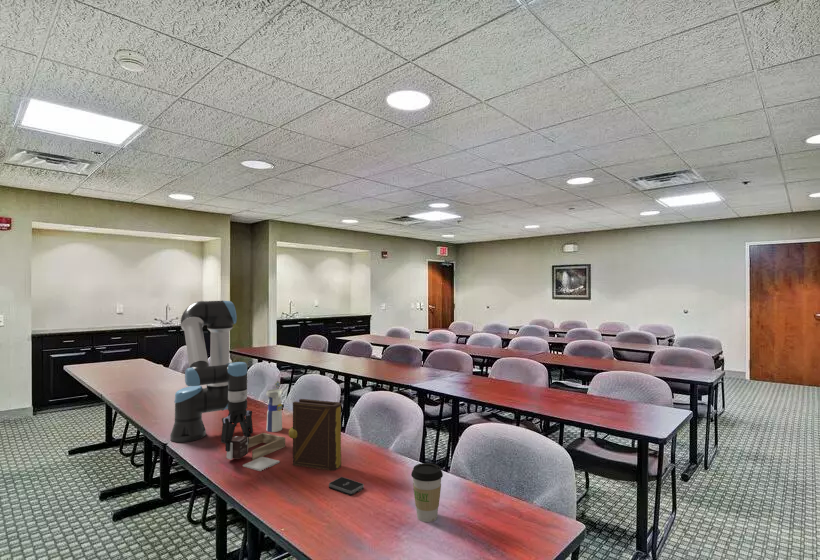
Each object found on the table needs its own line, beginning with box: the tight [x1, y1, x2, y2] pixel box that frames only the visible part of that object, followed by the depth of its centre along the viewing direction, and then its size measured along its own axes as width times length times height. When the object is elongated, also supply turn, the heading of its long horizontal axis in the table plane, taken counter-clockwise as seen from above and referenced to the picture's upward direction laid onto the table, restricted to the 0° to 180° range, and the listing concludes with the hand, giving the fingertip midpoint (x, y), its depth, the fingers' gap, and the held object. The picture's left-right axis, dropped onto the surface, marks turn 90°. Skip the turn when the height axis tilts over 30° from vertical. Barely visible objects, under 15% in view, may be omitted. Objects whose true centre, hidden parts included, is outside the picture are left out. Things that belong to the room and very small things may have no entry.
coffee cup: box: [411, 462, 444, 523], centre depth 139 cm, size 10×10×15 cm
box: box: [231, 435, 249, 460], centre depth 185 cm, size 6×6×7 cm
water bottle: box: [265, 381, 284, 433], centre depth 224 cm, size 8×9×25 cm
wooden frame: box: [248, 432, 286, 461], centre depth 195 cm, size 14×18×4 cm
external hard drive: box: [328, 476, 365, 497], centre depth 158 cm, size 7×11×2 cm, turn 55°
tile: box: [242, 456, 281, 472], centre depth 180 cm, size 10×10×1 cm
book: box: [288, 398, 342, 472], centre depth 180 cm, size 22×8×25 cm, turn 71°
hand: (237, 455), depth 185 cm, fingers closed on box, 7 cm apart
